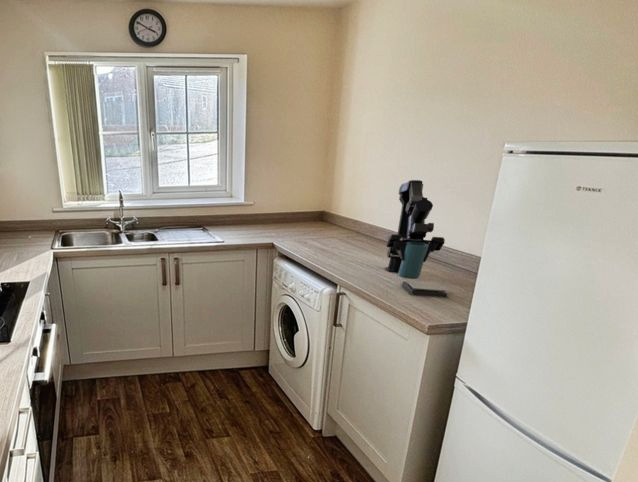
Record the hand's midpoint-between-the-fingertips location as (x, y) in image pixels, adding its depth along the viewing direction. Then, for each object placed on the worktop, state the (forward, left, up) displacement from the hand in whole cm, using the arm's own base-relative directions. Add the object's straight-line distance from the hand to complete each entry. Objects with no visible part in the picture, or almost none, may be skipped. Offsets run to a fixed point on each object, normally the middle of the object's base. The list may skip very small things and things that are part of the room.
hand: (413, 260), depth 176 cm
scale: (-2, +7, -12) cm, 14 cm away
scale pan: (-1, +7, -10) cm, 13 cm away
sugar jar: (-2, 0, -7) cm, 7 cm away
